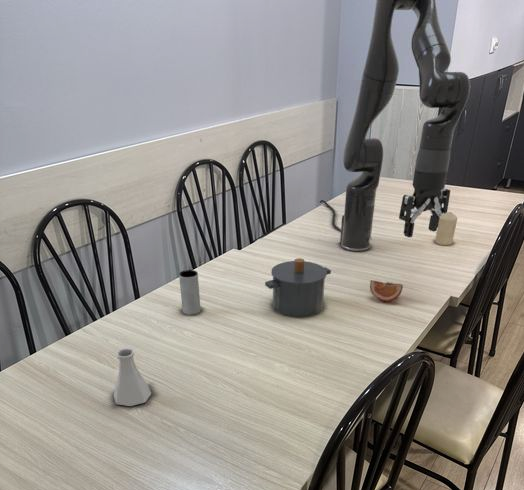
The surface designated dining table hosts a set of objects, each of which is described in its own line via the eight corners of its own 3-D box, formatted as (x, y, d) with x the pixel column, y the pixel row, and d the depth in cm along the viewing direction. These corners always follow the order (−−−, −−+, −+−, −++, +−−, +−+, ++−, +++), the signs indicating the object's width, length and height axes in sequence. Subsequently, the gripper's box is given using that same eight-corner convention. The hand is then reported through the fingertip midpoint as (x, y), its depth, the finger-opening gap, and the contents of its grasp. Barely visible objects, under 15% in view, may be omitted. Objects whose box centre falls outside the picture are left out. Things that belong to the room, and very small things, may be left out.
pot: (255, 303, 131) (254, 271, 127) (312, 288, 139) (314, 257, 134) (280, 324, 122) (281, 290, 117) (340, 307, 130) (343, 274, 125)
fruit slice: (365, 301, 132) (367, 284, 130) (371, 291, 138) (373, 274, 135) (397, 307, 130) (400, 289, 127) (402, 296, 135) (405, 279, 132)
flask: (116, 385, 101) (108, 343, 96) (153, 383, 101) (147, 341, 96) (110, 408, 95) (101, 364, 89) (149, 406, 95) (142, 362, 90)
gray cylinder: (187, 316, 125) (183, 278, 120) (179, 309, 129) (176, 272, 123) (203, 312, 127) (200, 274, 122) (195, 305, 131) (192, 268, 125)
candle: (453, 245, 167) (459, 216, 161) (435, 244, 168) (441, 215, 162) (451, 240, 171) (457, 211, 166) (434, 239, 172) (439, 210, 167)
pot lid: (261, 271, 128) (261, 256, 126) (306, 261, 134) (306, 246, 132) (290, 291, 118) (291, 275, 116) (337, 279, 124) (339, 264, 122)
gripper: (440, 161, 126) (429, 224, 134) (398, 168, 120) (389, 234, 128) (464, 167, 120) (451, 233, 129) (421, 174, 114) (410, 243, 123)
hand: (420, 233), depth 129 cm, fingers open, 8 cm apart
